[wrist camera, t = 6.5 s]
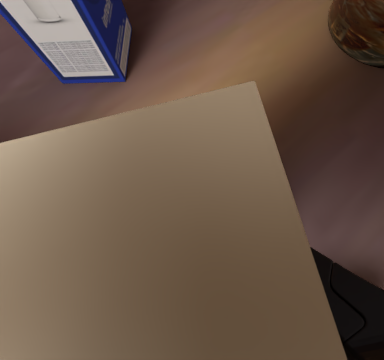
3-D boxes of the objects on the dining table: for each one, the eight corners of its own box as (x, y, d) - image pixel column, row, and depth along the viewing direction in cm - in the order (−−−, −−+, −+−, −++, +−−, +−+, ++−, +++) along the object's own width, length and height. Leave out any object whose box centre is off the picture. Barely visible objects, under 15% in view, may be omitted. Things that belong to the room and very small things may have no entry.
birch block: (253, 313, 14) (433, 620, 2) (162, 332, 15) (-167, 708, 2) (230, 221, 16) (254, 80, 4) (148, 239, 16) (-95, 166, 4)
